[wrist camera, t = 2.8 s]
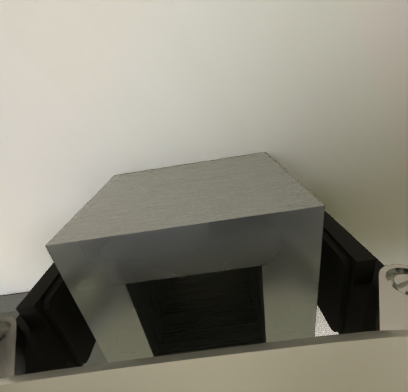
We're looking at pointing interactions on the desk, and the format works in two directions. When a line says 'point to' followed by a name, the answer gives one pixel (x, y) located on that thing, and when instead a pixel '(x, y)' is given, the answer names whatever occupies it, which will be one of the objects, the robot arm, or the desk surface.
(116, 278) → the block
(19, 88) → the desk surface
